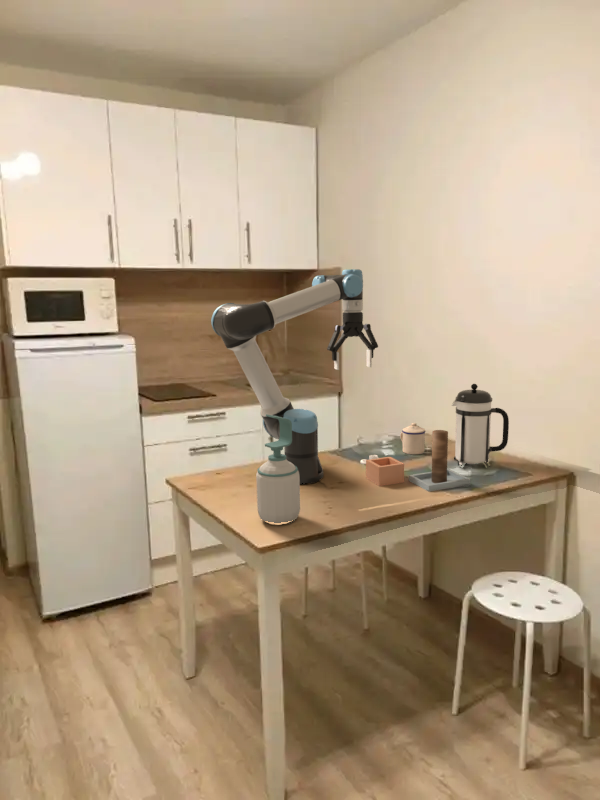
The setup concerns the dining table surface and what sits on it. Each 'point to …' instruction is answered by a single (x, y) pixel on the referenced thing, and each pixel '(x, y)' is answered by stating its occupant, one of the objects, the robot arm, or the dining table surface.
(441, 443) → the walnut dowel
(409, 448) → the teacup with lid
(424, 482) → the slate tray
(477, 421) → the coffee press
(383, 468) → the terracotta square box
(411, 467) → the dining table surface
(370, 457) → the teacup and saucer
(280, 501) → the soap bottle
